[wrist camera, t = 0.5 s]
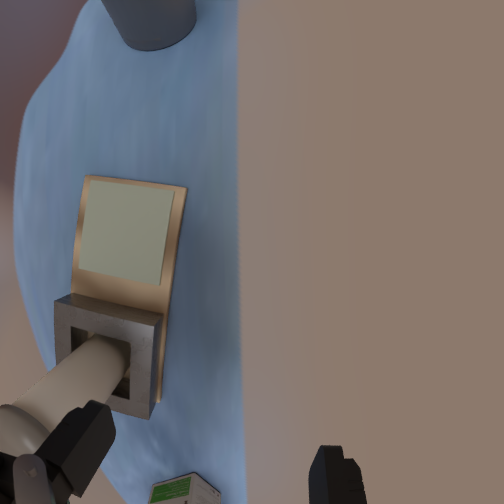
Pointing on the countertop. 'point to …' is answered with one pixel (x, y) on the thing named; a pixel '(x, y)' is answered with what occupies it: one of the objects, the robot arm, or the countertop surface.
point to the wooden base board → (123, 281)
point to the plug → (63, 393)
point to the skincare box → (184, 491)
